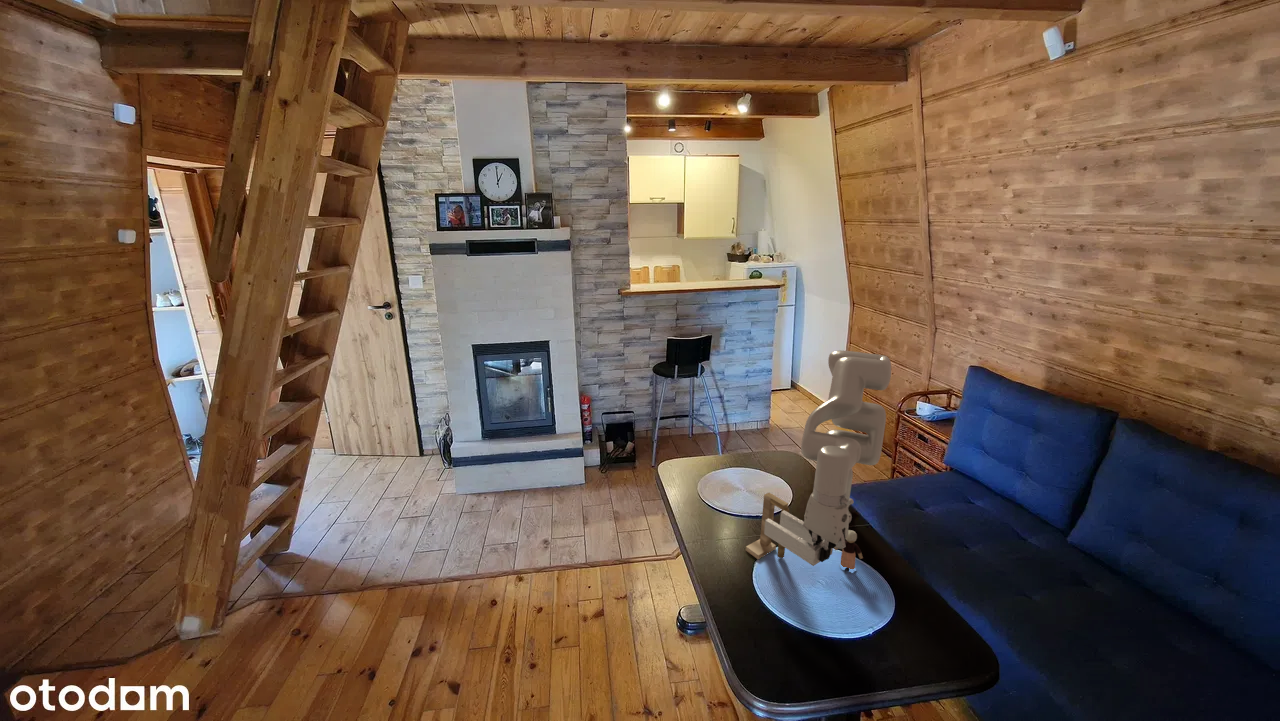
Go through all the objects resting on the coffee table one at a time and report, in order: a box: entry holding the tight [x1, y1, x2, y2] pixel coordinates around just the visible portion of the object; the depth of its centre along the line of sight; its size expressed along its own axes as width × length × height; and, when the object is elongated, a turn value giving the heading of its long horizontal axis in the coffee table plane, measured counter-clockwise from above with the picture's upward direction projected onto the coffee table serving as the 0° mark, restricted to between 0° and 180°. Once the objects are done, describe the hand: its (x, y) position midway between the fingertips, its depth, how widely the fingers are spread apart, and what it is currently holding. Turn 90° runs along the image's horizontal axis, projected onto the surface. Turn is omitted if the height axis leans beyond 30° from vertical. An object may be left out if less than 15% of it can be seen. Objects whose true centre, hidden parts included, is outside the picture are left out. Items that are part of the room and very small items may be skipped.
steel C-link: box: [764, 510, 834, 567], centre depth 133 cm, size 16×8×4 cm, turn 36°
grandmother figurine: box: [833, 529, 864, 569], centre depth 143 cm, size 8×4×13 cm, turn 71°
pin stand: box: [745, 492, 790, 560], centre depth 148 cm, size 8×10×19 cm
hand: (820, 557), depth 128 cm, fingers closed on steel C-link, 1 cm apart
